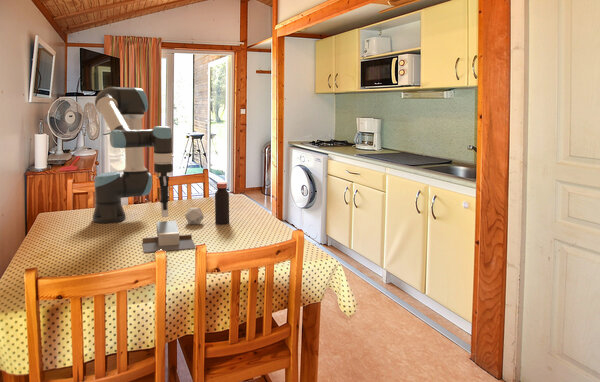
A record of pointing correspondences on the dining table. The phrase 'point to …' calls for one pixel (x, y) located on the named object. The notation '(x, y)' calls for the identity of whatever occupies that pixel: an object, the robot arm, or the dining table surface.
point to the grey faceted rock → (194, 216)
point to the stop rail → (152, 239)
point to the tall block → (167, 233)
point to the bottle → (222, 204)
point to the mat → (168, 246)
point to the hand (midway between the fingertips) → (164, 216)
